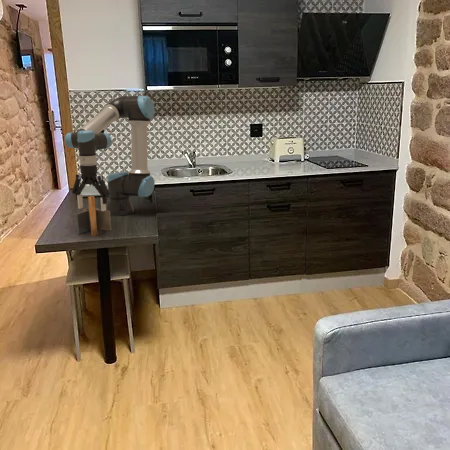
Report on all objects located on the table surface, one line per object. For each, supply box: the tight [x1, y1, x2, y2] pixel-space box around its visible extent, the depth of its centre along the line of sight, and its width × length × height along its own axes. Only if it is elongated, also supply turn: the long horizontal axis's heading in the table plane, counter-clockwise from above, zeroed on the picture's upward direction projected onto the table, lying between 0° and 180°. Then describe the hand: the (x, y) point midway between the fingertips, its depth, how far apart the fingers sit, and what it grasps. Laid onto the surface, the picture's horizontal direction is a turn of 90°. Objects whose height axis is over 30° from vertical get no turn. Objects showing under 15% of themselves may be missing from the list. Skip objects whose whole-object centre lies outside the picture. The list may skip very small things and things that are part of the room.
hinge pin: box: [87, 195, 99, 237], centre depth 225 cm, size 3×3×19 cm
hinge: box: [75, 207, 112, 235], centre depth 232 cm, size 14×14×10 cm
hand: (92, 209), depth 224 cm, fingers open, 13 cm apart
